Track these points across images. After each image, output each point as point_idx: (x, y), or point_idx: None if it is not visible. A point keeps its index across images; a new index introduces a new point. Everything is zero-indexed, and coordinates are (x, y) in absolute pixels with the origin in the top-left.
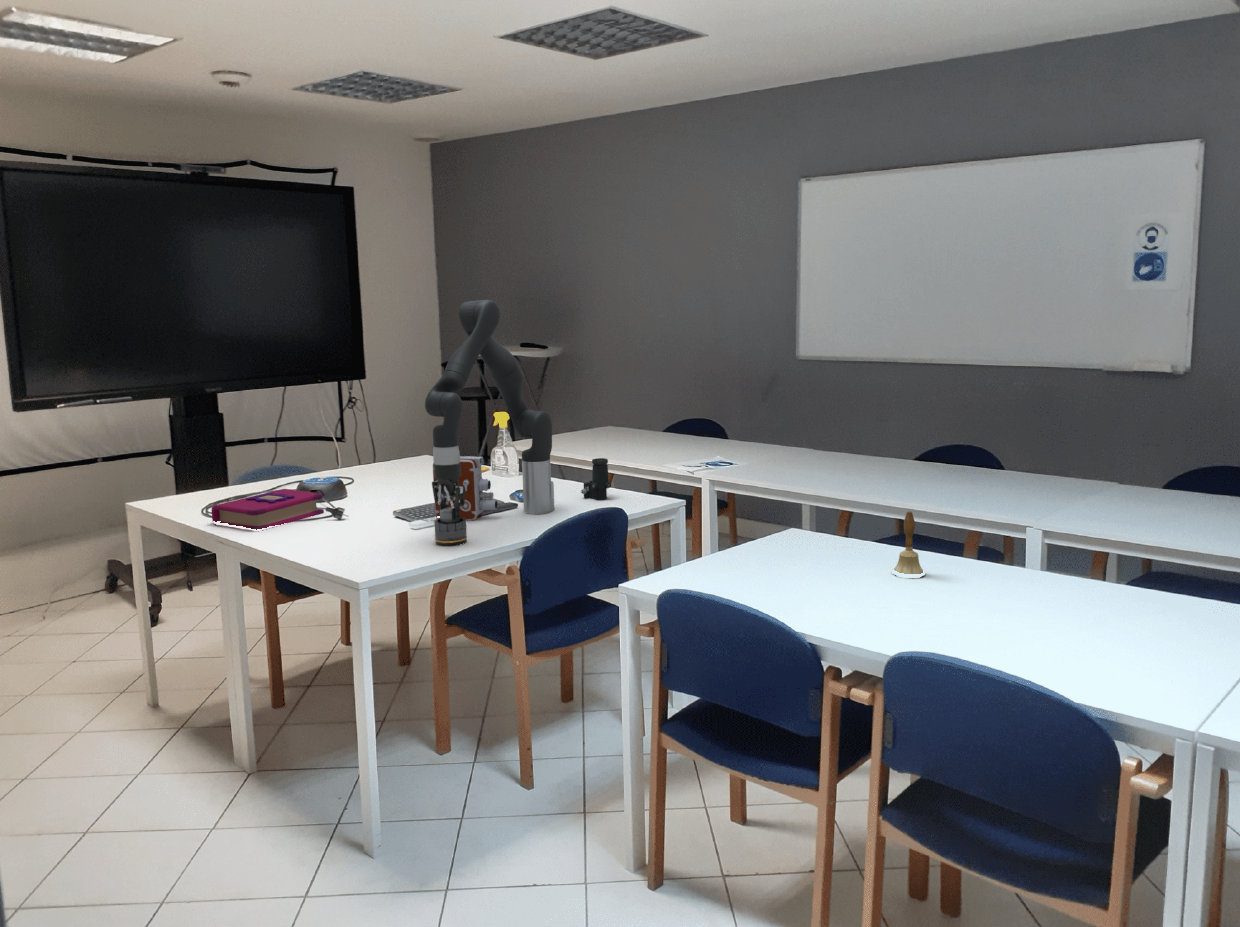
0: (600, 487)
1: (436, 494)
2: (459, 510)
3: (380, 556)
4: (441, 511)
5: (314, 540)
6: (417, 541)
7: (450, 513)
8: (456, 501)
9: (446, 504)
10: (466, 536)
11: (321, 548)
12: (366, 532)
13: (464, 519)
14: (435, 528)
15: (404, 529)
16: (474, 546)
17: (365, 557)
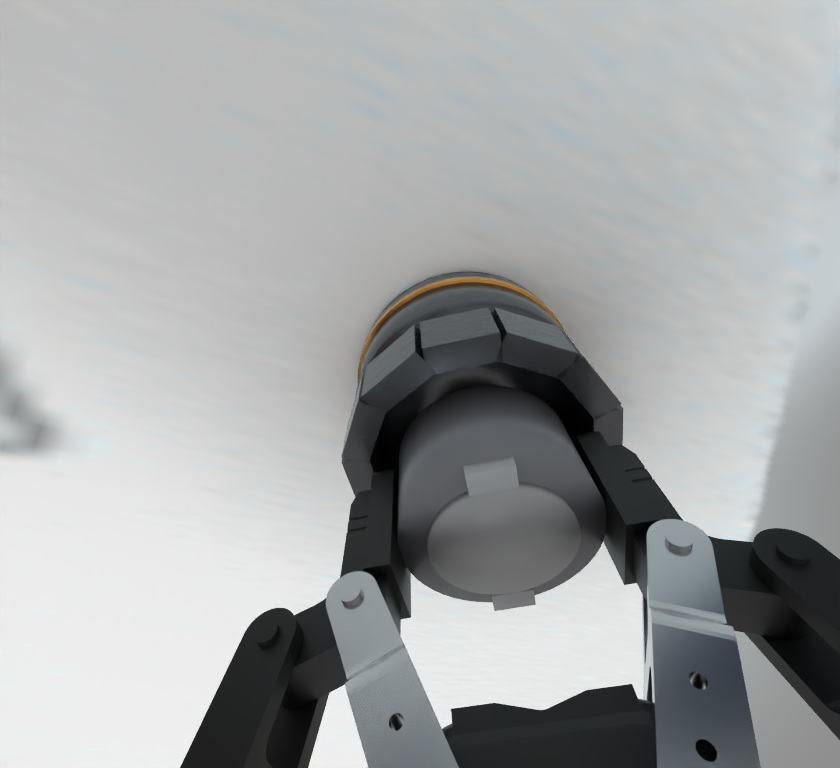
0: None
1: (301, 765)
2: (671, 506)
3: (483, 639)
4: (509, 600)
5: (129, 725)
6: (333, 498)
7: (591, 545)
8: (827, 677)
9: (391, 570)
10: (531, 299)
11: None
12: (45, 611)
13: (545, 357)
14: None
15: (22, 484)
16: (663, 287)
17: (460, 668)
